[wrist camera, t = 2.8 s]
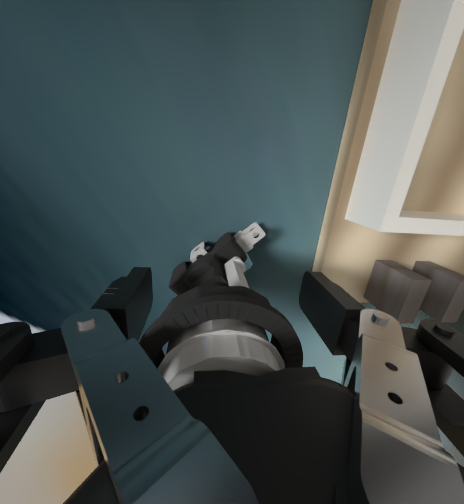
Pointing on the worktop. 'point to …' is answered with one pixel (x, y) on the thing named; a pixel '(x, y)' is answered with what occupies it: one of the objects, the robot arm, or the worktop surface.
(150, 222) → the worktop surface
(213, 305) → the push button
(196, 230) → the worktop surface
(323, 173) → the worktop surface
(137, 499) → the robot arm
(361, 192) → the white open box
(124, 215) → the worktop surface
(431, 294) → the board
